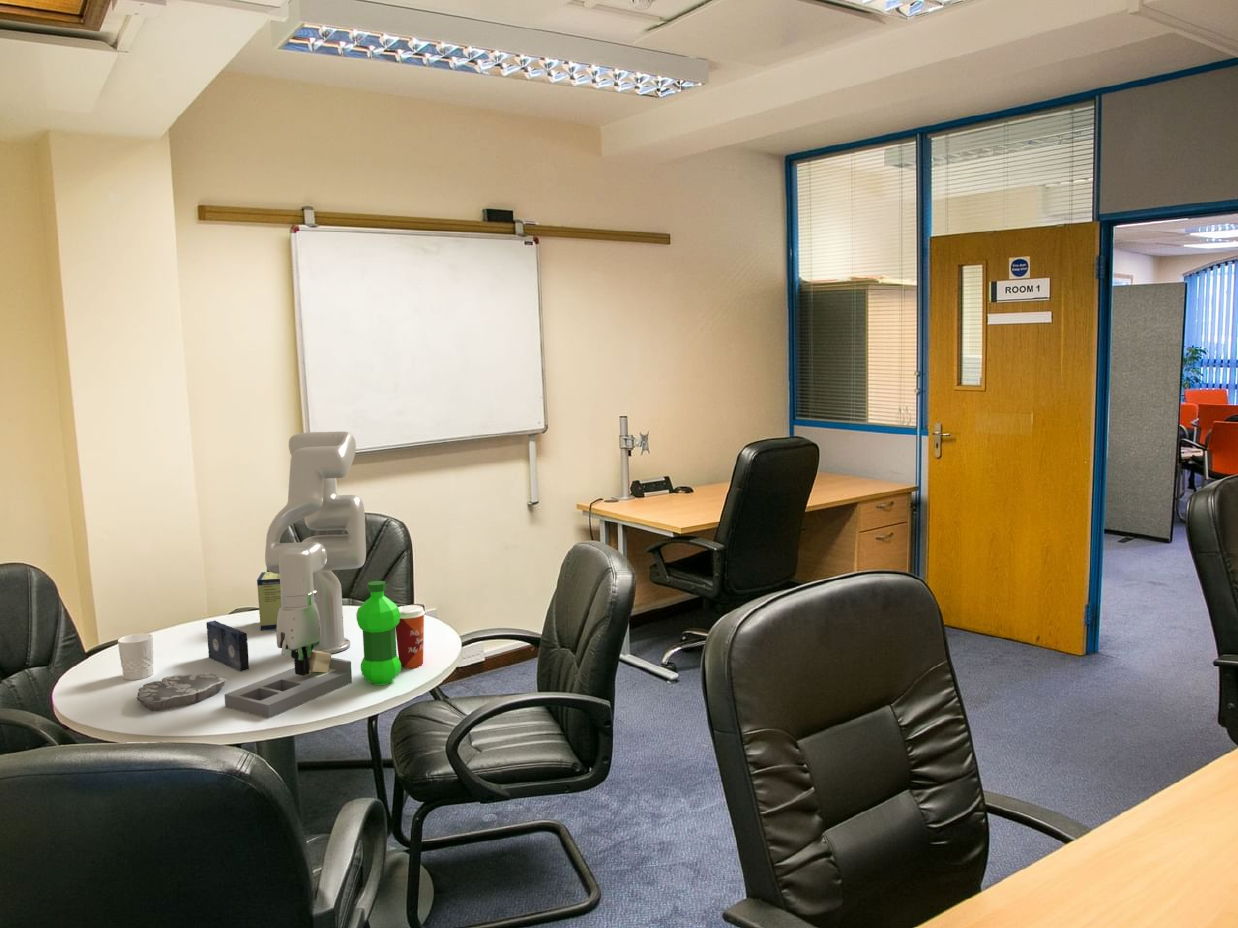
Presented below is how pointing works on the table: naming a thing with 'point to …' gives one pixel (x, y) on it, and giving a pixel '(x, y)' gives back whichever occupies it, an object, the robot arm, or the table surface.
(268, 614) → the protein box
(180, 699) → the brain slice
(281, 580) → the robot arm
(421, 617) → the coffee cup
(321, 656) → the birch block
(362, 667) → the plastic bottle
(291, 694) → the box
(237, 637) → the vhs cassette tape
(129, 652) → the white cup
